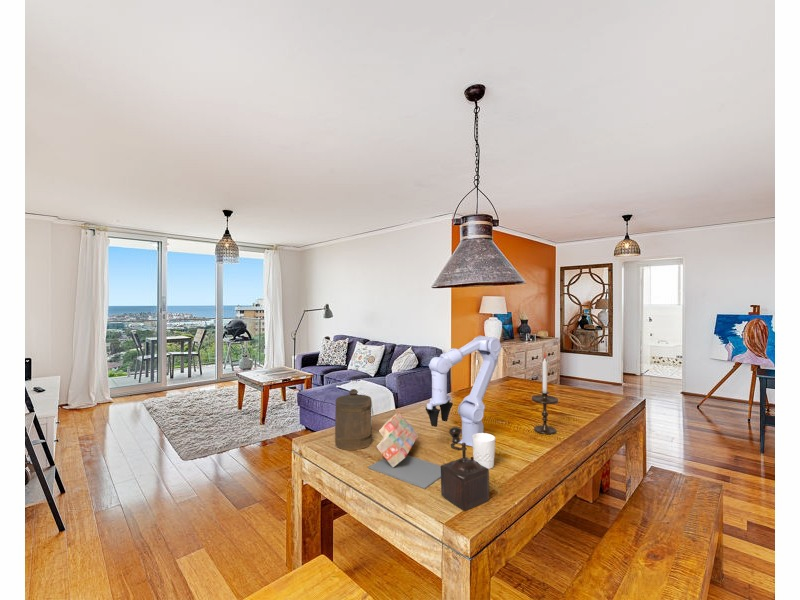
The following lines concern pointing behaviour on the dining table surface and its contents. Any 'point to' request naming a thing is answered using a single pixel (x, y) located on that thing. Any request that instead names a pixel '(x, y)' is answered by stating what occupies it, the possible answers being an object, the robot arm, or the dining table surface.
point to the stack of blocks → (396, 439)
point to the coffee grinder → (464, 478)
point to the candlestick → (544, 403)
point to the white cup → (484, 449)
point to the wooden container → (353, 421)
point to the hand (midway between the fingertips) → (439, 423)
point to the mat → (410, 471)
